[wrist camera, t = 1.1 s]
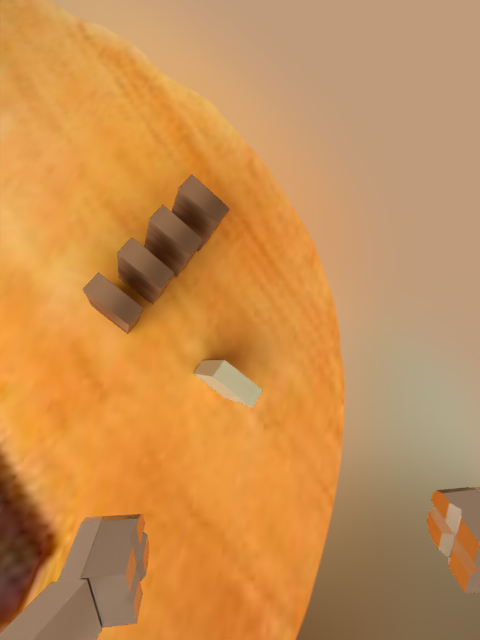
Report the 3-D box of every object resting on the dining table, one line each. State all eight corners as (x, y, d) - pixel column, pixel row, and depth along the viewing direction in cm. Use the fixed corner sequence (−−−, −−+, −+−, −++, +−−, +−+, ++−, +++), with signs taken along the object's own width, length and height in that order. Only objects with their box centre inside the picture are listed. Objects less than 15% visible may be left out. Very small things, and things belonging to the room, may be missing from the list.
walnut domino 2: (167, 225, 44) (179, 187, 34) (177, 214, 44) (191, 174, 35) (198, 251, 45) (218, 222, 35) (207, 240, 45) (229, 208, 36)
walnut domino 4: (118, 277, 41) (117, 252, 32) (130, 265, 42) (131, 237, 32) (152, 304, 42) (160, 288, 33) (163, 292, 43) (174, 272, 33)
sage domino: (192, 373, 43) (212, 376, 33) (202, 360, 43) (224, 359, 34) (224, 397, 43) (251, 407, 34) (233, 384, 44) (263, 390, 35)
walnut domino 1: (92, 306, 40) (82, 288, 30) (104, 293, 40) (98, 272, 31) (127, 333, 41) (128, 325, 31) (138, 320, 41) (143, 308, 32)
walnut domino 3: (143, 250, 42) (149, 218, 33) (154, 239, 43) (163, 204, 34) (176, 277, 43) (190, 253, 34) (185, 265, 44) (203, 239, 34)
